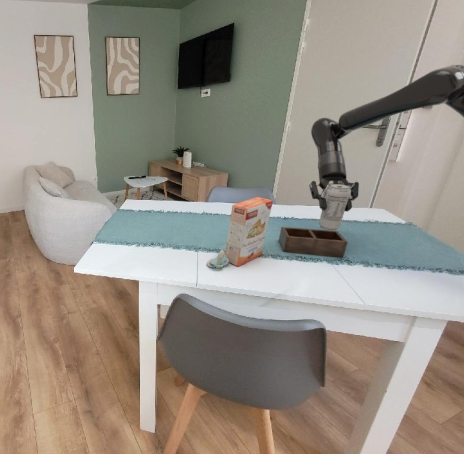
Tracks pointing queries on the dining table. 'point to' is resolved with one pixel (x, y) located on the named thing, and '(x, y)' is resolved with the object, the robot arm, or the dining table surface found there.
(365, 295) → the dining table surface
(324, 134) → the robot arm
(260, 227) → the cracker box
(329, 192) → the energy drink can
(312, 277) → the dining table surface
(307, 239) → the wooden box with compartments
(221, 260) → the pacifier
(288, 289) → the dining table surface
